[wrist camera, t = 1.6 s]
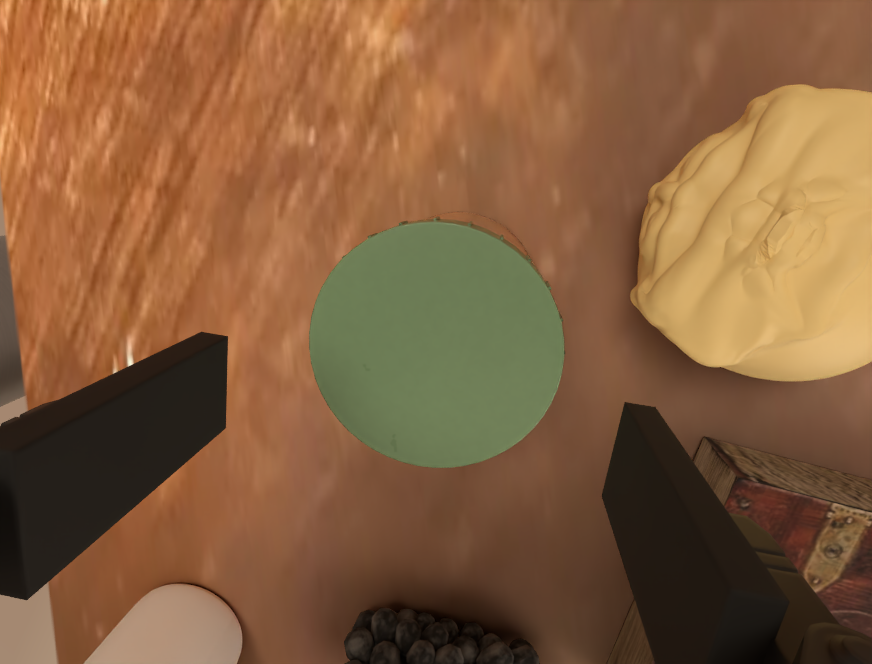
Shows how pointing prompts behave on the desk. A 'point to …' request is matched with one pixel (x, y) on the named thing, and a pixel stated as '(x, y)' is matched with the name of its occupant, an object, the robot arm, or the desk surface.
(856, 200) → the sculpture
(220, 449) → the desk surface
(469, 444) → the lid
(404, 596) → the desk surface
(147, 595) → the mug
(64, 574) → the desk surface
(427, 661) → the fruit
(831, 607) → the book
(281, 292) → the desk surface
